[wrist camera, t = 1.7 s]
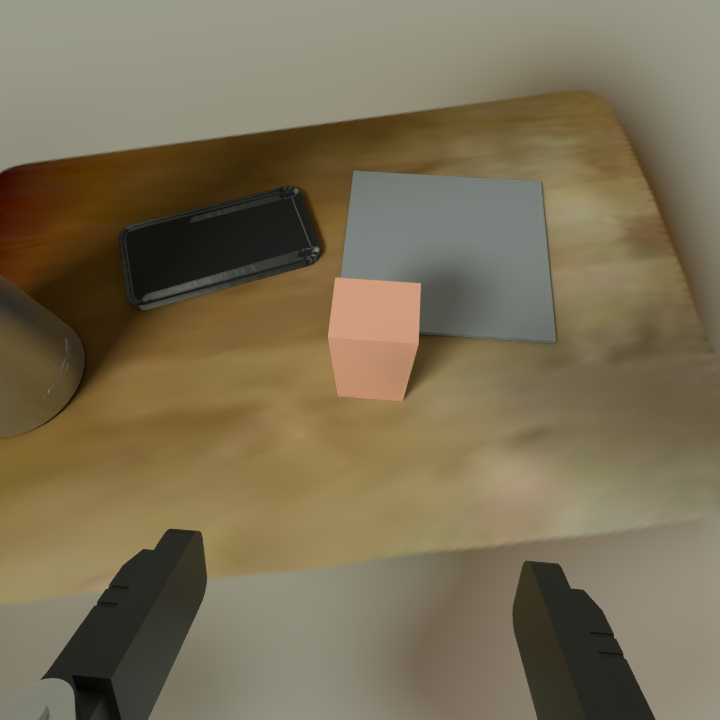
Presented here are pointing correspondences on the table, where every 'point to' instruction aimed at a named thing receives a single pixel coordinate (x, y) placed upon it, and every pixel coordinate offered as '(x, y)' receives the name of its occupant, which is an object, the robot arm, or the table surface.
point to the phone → (216, 247)
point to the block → (374, 337)
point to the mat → (456, 251)
